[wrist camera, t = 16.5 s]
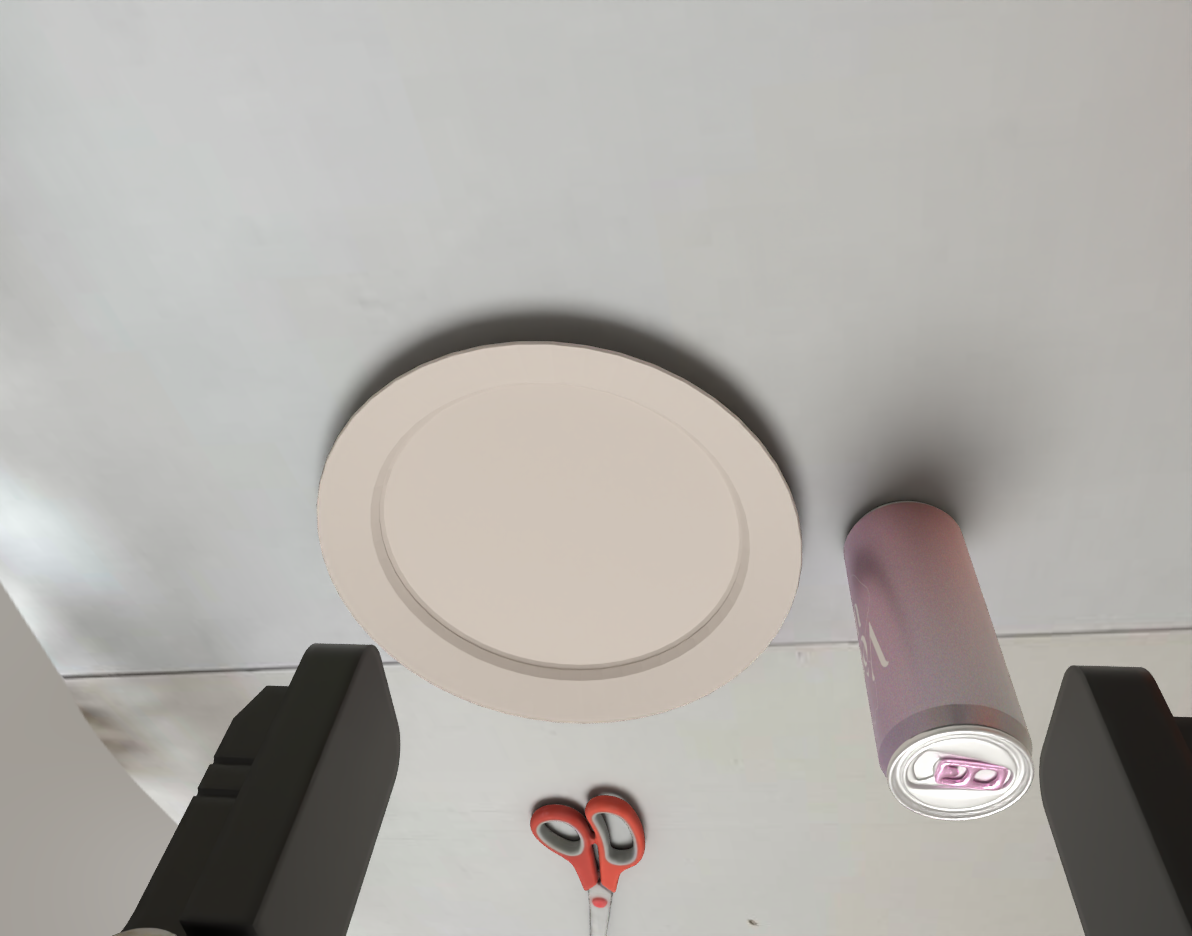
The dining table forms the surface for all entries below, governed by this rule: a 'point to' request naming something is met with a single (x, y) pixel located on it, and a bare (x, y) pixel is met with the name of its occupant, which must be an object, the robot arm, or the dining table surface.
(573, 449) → the plate
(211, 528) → the dining table surface
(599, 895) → the scissors
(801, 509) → the dining table surface
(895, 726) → the beverage can
